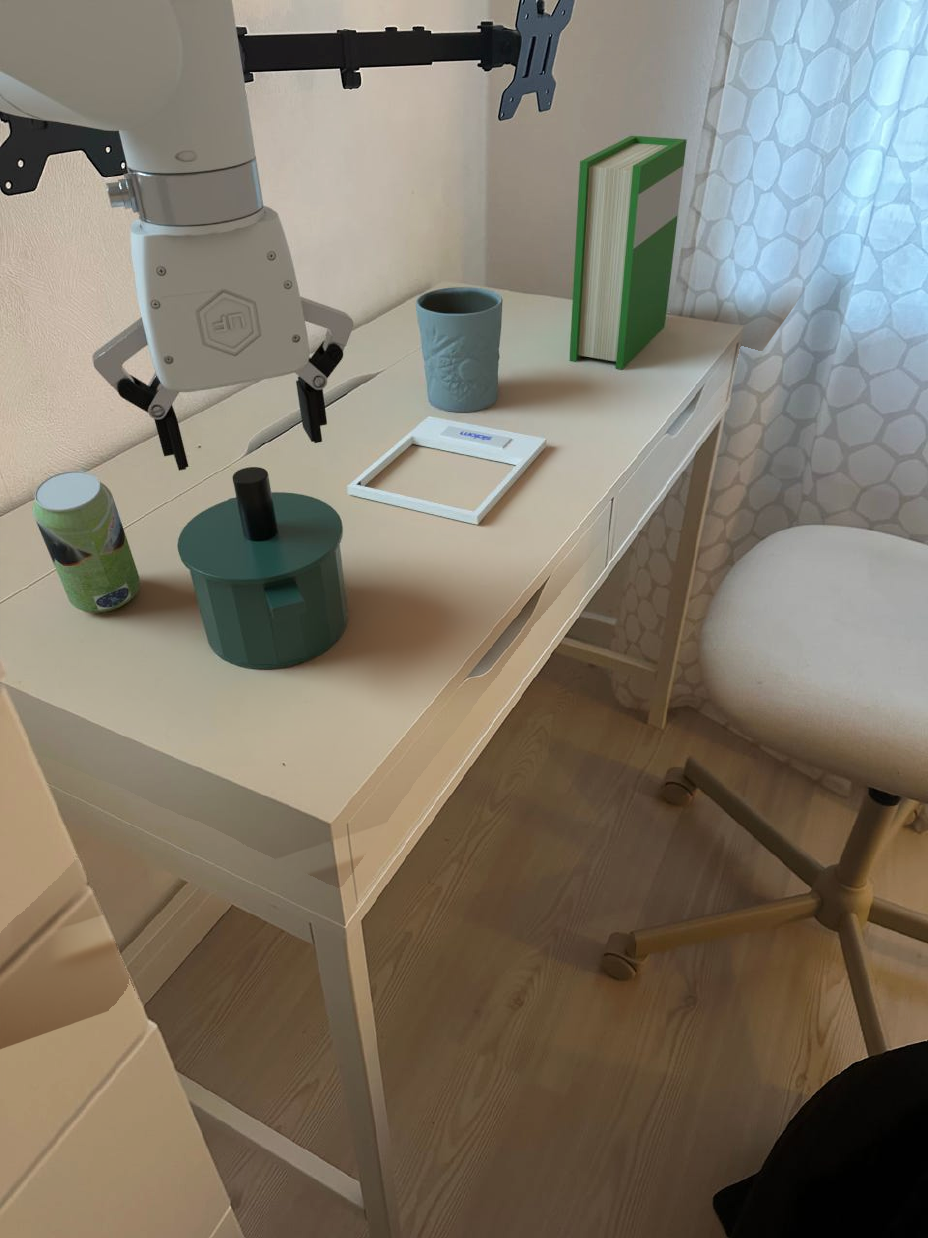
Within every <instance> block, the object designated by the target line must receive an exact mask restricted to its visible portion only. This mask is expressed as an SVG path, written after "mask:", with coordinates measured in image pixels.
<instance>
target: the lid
mask: <svg viewBox="0 0 928 1238" xmlns="http://www.w3.org/2000/svg"><path fill="white" fill-rule="evenodd" d="M232 484H233V487H234V493H235V497H236V498H235V497H232V498H233V499H230V498H229V499H230V500H229V499H227V500H224V501H222V502H219V503H217V504H214V505H212V506H210V507H208V508H206V509H204V510H202V511H201V512H199V513H198V514H197V515H195V516H194V517H192V519H191V520H189V521H188V522H187V523H186V525H184V527H183V529H181V532H180V534H179V536H178V539H177V552H178V556H179V559H180V561H181V563H182V564H183V565H184V566H185V567H186V568H187V569H188V570H189V572H190V571H192V572H193V573H195V574H197V575H199V576H201V577H203V578H205V579H209V580H212V581H216V582H221V583H227V584H241V585H248V584H262V583H269V582H274V581H279V580H283V579H287V578H291V577H293V576H296V575H299V574H302V573H304V572H306V571H308V570H310V569H312V568H314V567H316V566H318V565H319V564H321V563H322V562H323V561H325V560H326V559H327V558H328V557H330V556H331V555H332V554H333V553H334V551H335V550H336V549H337V548H338V546H339V544H341V542H342V539H343V536H344V527H343V522H342V517H341V516H340V515H339V513H338V511H336V509H335V508H333V506H332V505H330V504H329V503H328V502H325V501H323V500H321V499H318V498H316V497H314V496H309V495H305V494H302V493H295V492H283V491H282V492H280V491H272V488H271V483H270V477H269V473H268V470H266V469H265V468H264V467H260V466H249V467H245V468H244V467H243V468H241V469H239V470H237V471H235V472H234V473H233V474H232Z"/></svg>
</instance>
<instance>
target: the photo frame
mask: <svg viewBox="0 0 928 1238" xmlns="http://www.w3.org/2000/svg"><path fill="white" fill-rule="evenodd" d="M412 445H417V446H420V447H421V446H422V447H426V448H431V449H435V450H440V451H441V450H442V451H447V452H451V453H455V454H461V455H466V456H470V457H475V458H480V459H484V460H490V461H494V462H498V463H504V464H509V465H513V466H514V467H513V468H512V469H511V470H510V471H509V473H508V474H506V476H505V477H504V478H503V479H502V480H501V481H500V483H498V485H496V487H495V488H494V489H493V490H492V491H491V493H489V494H488V496H487V497H485V499H484V500H483V501H482V503H480V505H479V506H478V507H477V508H476V509H475V510H473V511H472V510H468V509H464V508H460V507H455V506H452V505H447V504H443V503H437V502H433V501H429V500H425V499H420V498H416V497H412V496H408V495H405V494H399V493H394V492H391V491H386V490H382V489H377V488H373V487H369V486H367V484H368V483H369V482H371V481H372V480H373V479H374V478H375V477H376V476H377V475H379V474H380V473H381V472H382V471H383V470H384V469H386V467H387V466H389V465H390V464H391V463H393V461H394V460H396V459H397V458H398V457H400V455H401V454H402V453H404V452H405V451H406V450H407V449H408V448H409V447H410V446H412ZM546 447H547V438H545V437H539V436H533V435H529V434H523V433H518V432H513V431H509V430H504V429H503V430H502V429H498V428H491V427H487V426H482V425H476V424H472V423H471V424H470V423H468V422H462V421H455V420H451V419H446V418H441V417H436V416H430V415H428V416H427V417H426V418H425V419H424V420H422V421H421V422H420V423H419V424H418V425H417V426H415V427H414V428H413V429H412V430H411V431H410V432H409V433H407V434H406V435H405V436H403V438H402V439H400V440H399V441H398V442H397V443H395V445H393V446H392V447H391V448H389V449H388V450H387V451H386V452H385V453H384V454H383V455H381V456H380V457H379V458H378V459H377V460H376V461H375V462H374V463H372V464H371V465H370V466H369V467H367V468H366V469H365V470H364V471H363V472H362V473H360V475H358V476H357V477H356V478H354V480H352V482H350V483H349V484H348V485H347V486H346V489H347V495H349V496H352V497H353V496H354V497H358V498H363V499H367V500H371V501H375V502H380V503H383V504H387V505H391V506H396V507H399V508H405V509H409V510H413V511H418V512H421V513H426V514H431V515H435V516H439V517H443V518H447V519H451V520H456V521H459V522H464V523H468V524H473V525H476V526H477V525H479V524H480V523H481V521H482V520H483V519H484V518H485V517H486V516H487V514H489V512H490V511H491V510H492V509H493V508H494V506H495V505H496V504H498V502H499V501H500V499H502V498H503V497H504V495H505V494H506V493H507V492H508V491H509V490H510V489H511V488H512V486H513V485H514V484H515V483H516V482H517V481H518V479H519V478H520V477H521V476H522V475H523V474H524V472H525V471H526V470H527V469H528V468H529V467H530V466H531V464H532V463H533V462H534V461H535V460H536V459H537V458H538V457H539V455H540V454H541V453H542V452H543V451H544V450H545V449H546Z"/></svg>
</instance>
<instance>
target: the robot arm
mask: <svg viewBox="0 0 928 1238" xmlns="http://www.w3.org/2000/svg"><path fill="white" fill-rule="evenodd" d="M239 44H240V43H239V38H238V29H237V23H236V18H235V12H234V5H233V0H0V112H2V113H4V114H8V115H12V116H15V117H21V118H29V119H34V120H40V121H43V122H44V121H45V122H57V123H62V124H69V125H74V126H80V127H86V128H89V129H90V128H91V129H95V130H96V129H97V130H101V131H109V132H110V131H111V132H117V131H118V134H119V137H120V141H121V146H122V150H123V154H124V158H125V163H126V164H125V165H126V170H127V173H123V178H120V179H117V181H113V182H106V183H105V187H106V192H107V195H108V199H109V203H110V206H111V208H112V209H114V208H124V209H125V210H127V209H131V210H132V212H133V213H134V214H135V213H137V214H138V219H136V220H134V221H132V222H131V224H130V253H131V262H132V267H133V272H134V273H133V274H134V281H135V282H134V283H135V291H136V296H137V302H138V307H139V311H140V316H141V317H139V319H137V320H136V321H134V322H133V323H131V325H129V326H128V327H127V328H125V329H124V330H123V331H120V333H118V334H117V335H116V336H114V337H112V339H110V340H109V341H108V342H107V343H105V344H103V346H101V347H100V348H98V349H97V350H96V351H94V352H93V354H92V356H91V357H92V363H93V367H94V369H95V370H96V371H97V373H99V374H100V376H102V378H103V379H104V380H105V381H106V382H107V383H108V384H109V385H110V386H111V387H113V389H114V390H115V391H116V392H117V393H118V395H119V396H120V398H122V399H124V400H125V401H127V402H128V403H130V404H132V405H134V406H136V407H137V408H139V409H141V410H142V411H144V412H145V413H147V414H148V415H149V417H150V418H151V419H154V423H155V427H156V431H157V432H156V433H157V434H158V439H159V442H160V447H161V451H162V454H163V457H169V456H174V460H175V463H176V466H177V469H178V471H184V470H187V468H189V467H190V466H189V462H188V459H187V453H186V450H185V445H184V443H183V437H182V433H181V430H180V425H179V422H178V418H177V414H176V412H175V409H174V406H173V405H174V402H175V400H176V399H177V397H178V395H179V393H192V392H201V391H206V390H213V389H219V388H224V387H230V386H235V385H241V384H246V383H253V382H258V381H263V380H268V379H274V378H278V377H279V378H280V377H284V376H287V375H291V374H296V375H297V380H296V381H295V384H296V391H297V397H298V404H299V405H298V406H299V411H300V418H301V425H302V428H303V430H304V431H305V433H306V435H307V437H308V438H309V440H310V442H311V443H314V444H318V443H322V442H323V436H322V430H321V427H323V426H327V424H328V420H327V412H326V405H325V396H324V390H323V389H324V388H326V386H328V379H329V377H330V376H331V374H332V373H333V372H334V371H335V369H336V368H337V366H338V365H339V364H340V363H341V361H342V360H343V358H344V350H345V347H346V346H347V344H348V342H349V339H350V335H351V334H352V330H353V328H354V320H353V319H352V317H350V315H348V313H347V312H345V311H342V310H340V309H338V308H335V307H332V306H328V305H325V304H323V303H320V302H317V301H314V300H311V299H309V298H306V297H303V296H301V294H300V289H299V285H298V280H297V275H296V272H295V267H294V263H293V259H292V254H291V251H290V247H289V244H288V240H287V237H286V234H285V233H286V232H285V230H284V227H283V224H282V221H281V218H280V216H279V214H278V212H277V211H276V210H273V209H272V208H271V207H269V206H267V205H264V201H263V194H262V188H261V181H260V175H259V168H258V162H257V161H258V160H257V156H256V150H255V144H254V143H255V142H254V137H253V130H252V123H251V122H252V121H251V116H250V109H249V103H248V97H247V90H246V82H245V76H244V71H243V64H242V59H241V51H240V45H239ZM306 322H308V323H310V324H313V325H316V326H318V327H320V328H321V327H322V328H325V329H326V333H325V338H324V340H323V341H322V342H321V344H319V346H318V348H317V349H316V350H315V351H314V353H313V354H312V356H310V344H309V337H308V331H307V324H306ZM145 347H147V348H148V353H149V356H150V359H151V362H152V366H153V368H154V371H155V372H154V374H153V376H152V377H151V379H150V381H149V382H148V384H146V383H144V382H143V381H142V380H140V379H138V378H137V377H135V376H133V375H131V374H130V373H129V372H128V371H127V370H126V369H125V367H123V365H124V363H126V361H128V360H129V359H131V358H132V357H133V356H135V355H136V354H137V353H138V352H140V351H141V350H143V349H144V348H145Z"/></svg>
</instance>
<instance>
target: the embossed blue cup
mask: <svg viewBox="0 0 928 1238" xmlns="http://www.w3.org/2000/svg"><path fill="white" fill-rule="evenodd" d="M503 301H504V300H503V297H502V296H501V295H500V294H498V293H497V292H495V291H494V290H491V289H487V288H482V287H472V286H455V287H454V286H453V287H446V288H444V287H443V288H439V289H434V290H430V291H427V292H425V293H423V294H421V295H419V296H418V297H417V298H416V299H415V303H414V304H415V310H416V317H417V324H418V328H419V334H420V335H419V336H420V341H421V342H420V344H421V351H422V358H423V362H424V365H423V367H424V372H425V381H426V392H427V398H428V402H429V403H430V405H431V406H433V407H434V408H436V409H438V410H440V411H444V412H448V413H449V412H450V413H473V412H478V411H482V410H485V409H487V408H490V407H492V406H493V405H494V404H495V403H496V401H497V399H498V394H499V361H500V342H501V335H502V322H503V321H502V319H503V315H502V314H503Z"/></svg>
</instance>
